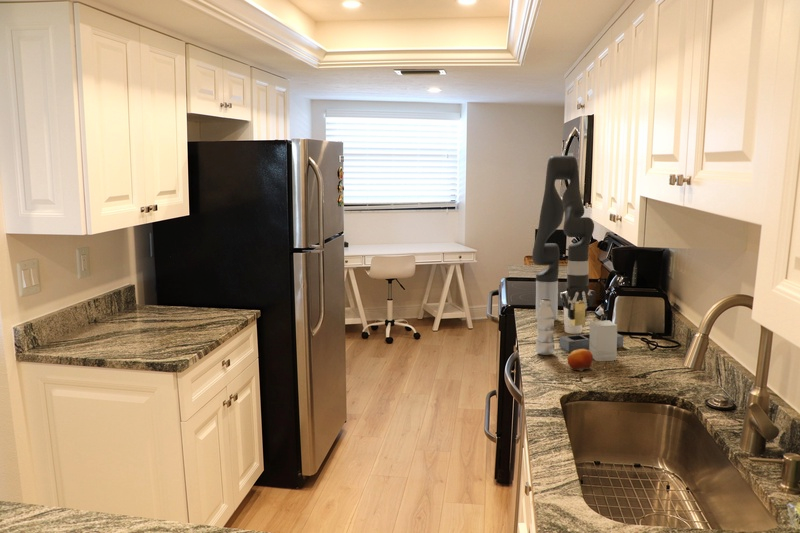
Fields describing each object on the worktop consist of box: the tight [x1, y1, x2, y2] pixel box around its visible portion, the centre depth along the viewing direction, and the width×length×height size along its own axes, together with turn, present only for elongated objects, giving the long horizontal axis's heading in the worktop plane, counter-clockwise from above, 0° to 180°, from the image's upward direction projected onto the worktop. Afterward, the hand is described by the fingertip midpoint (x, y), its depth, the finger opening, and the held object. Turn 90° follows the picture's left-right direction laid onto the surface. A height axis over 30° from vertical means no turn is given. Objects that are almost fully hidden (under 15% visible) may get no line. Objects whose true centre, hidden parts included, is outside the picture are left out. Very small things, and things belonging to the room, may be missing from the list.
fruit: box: [567, 349, 593, 372], centre depth 212 cm, size 8×8×8 cm
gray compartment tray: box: [559, 333, 624, 353], centre depth 236 cm, size 7×22×4 cm, turn 103°
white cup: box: [563, 307, 584, 335], centre depth 257 cm, size 8×8×10 cm
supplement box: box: [589, 320, 618, 362], centre depth 222 cm, size 7×7×13 cm
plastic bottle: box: [535, 299, 556, 356], centre depth 228 cm, size 6×7×20 cm
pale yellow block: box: [570, 300, 586, 326], centre depth 233 cm, size 4×4×8 cm
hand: (577, 318), depth 233 cm, fingers closed on pale yellow block, 4 cm apart
